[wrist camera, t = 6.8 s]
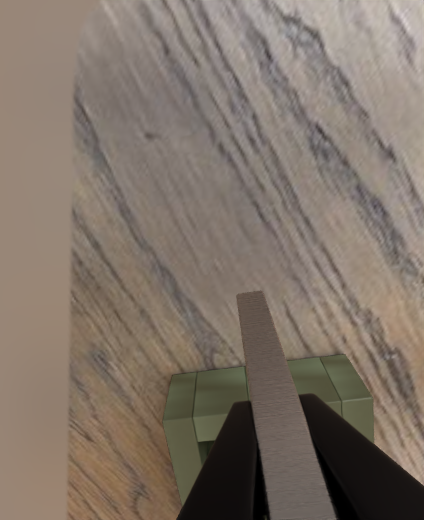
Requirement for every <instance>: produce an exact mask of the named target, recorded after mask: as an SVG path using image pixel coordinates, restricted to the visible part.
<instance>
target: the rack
mask: <svg viewBox="0 0 424 520" xmlns="http://www.w3.org/2000/svg"><path fill="white" fill-rule="evenodd" d="M287 364H288V367H289V370H290V373H291V375H292V378H293V381H294V384H295V387H296V390H297V393H298V394H306V393H313V394H315V395H317V396H318V397H319V398H320V399H321V400H322V401H324V402H325V403H326V404H327V405H328V406H330V407H331V408H332V409H333V410H334V411H336V412H337V413H338V414H339V415H340V416H341V417H343V418H344V419H345V420H346V421H347V422H349V423H350V424H351V425H352V426H353V427H354V428H356V429H357V430H358V431H359V432H360V433H362V434H363V435H364V436H365V437H366V438H368V439H369V440H370V441H371V442H372V443H373V444H374V415H373V397H372V395H371V394H370V392H369V391H368V389H367V387H366V386H365V384H364V383H363V381H362V380H361V378H360V376H359V375H358V373H357V372H356V370H355V369H354V367H353V365H352V364H351V362H350V361H349V359H348V358H347V356H346V355H345V354H342V355H334V356H326V357H320V358H319V357H316V358H307V359H299V360H291V361H287ZM246 400H250V393H249V386H248V378H247V371H246V366H245V368H244V367H235V368H227V369H218V370H210V371H202V372H198V373H196V372H193V373H185V374H177V375H172V378H171V383H170V387H169V392H168V397H167V401H166V406H165V411H164V416H163V420H162V423H163V427H164V431H165V436H166V440H167V444H168V448H169V453H170V457H171V461H172V466H173V470H174V474H175V478H176V483H177V487H178V491H179V496H180V500H181V504H182V507H183V505H184V503H185V501H186V499H187V497H188V495H189V493H190V490H191V488H192V486H193V484H194V482H195V480H196V478H197V476H198V474H199V472H200V470H201V468H202V466H203V464H204V462H205V460H206V458H207V456H208V454H209V452H210V450H211V448H212V446H213V444H214V442H215V439H216V437H217V435H218V433H219V431H220V429H221V427H222V425H223V423H224V421H225V419H226V417H227V415H228V413H229V411H230V409H231V407H232V405H233V403H234V402H238V401H246ZM250 401H251V400H250Z"/></svg>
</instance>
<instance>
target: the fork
mask: <svg viewBox="0 0 424 520" xmlns="http://www.w3.org/2000/svg"><path fill="white" fill-rule="evenodd" d="M236 298H237V305H238V312H239V320H240V327H241V334H242V342H243V349H244V356H245V364H246V371H247V378H248V386H249V393H250V400H251V408H252V415H253V422H254V427H255V432H256V437H257V448H258V459H259V466H260V473H261V481H262V488H263V495H264V503H265V510H266V517H267V520H340V517H339V514H338V511H337V508H336V505H335V502H334V499H333V496H332V493H331V490H330V487H329V484H328V482H327V479H326V476H325V473H324V470H323V467H322V464H321V461H320V458H319V455H318V452H317V449H316V447H315V444H314V442H313V439H312V436H311V433H310V430H309V427H308V424H307V420H306V417H305V414H304V411H303V408H302V405H301V402H300V399H299V396H298V393H297V390H296V387H295V384H294V381H293V378H292V375H291V373H290V370H289V367H288V364H287V361H286V358H285V355H284V352H283V349H282V346H281V343H280V340H279V337H278V334H277V331H276V328H275V325H274V322H273V319H272V317H271V314H270V311H269V308H268V305H267V302H266V299H265V296H264V293H263V291H254V292H247V293H240V294H237V296H236Z"/></svg>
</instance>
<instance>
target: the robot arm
mask: <svg viewBox="0 0 424 520" xmlns="http://www.w3.org/2000/svg"><path fill="white" fill-rule="evenodd" d="M298 396H299V399H300V402H301V405H302V408H303V411H304V414H305V417H306V420H307V424H308V427H309V430H310V433H311V436H312V439H313V442H314V444H315V447H316V449H317V452H318V455H319V458H320V461H321V464H322V467H323V470H324V473H325V476H326V479H327V482H328V484H329V487H330V490H331V493H332V496H333V499H334V502H335V505H336V508H337V511H338V514H339V517H340V520H424V486H423V485H422V484H421V483H420V482H419V481H417V480H416V479H415V478H414V477H413V476H411V475H410V474H409V473H408V472H407V471H405V470H404V469H403V468H402V467H401V466H400V465H398V464H397V463H396V462H395V461H394V460H392V459H391V458H390V457H389V456H388V455H387V454H385V453H384V452H383V451H382V450H381V449H379V448H378V447H377V446H376V445H375V444H373V443H372V442H371V441H370V440H369V439H368V438H366V437H365V436H364V435H363V434H362V433H360V432H359V431H358V430H357V429H356V428H354V427H353V426H352V425H351V424H350V423H349V422H347V421H346V420H345V419H344V418H343V417H341V416H340V415H339V414H338V413H337V412H336V411H334V410H333V409H332V408H331V407H330V406H328V405H327V404H326V403H325V402H324V401H322V400H321V399H320V398H319V397H318V396H317V395H315V394H313V393H306V394H298ZM176 520H267V517H266V510H265V503H264V495H263V488H262V481H261V473H260V466H259V459H258V448H257V437H256V432H255V427H254V422H253V415H252V408H251V401H250V400H246V401H238V402H234V403H233V405H232V407H231V409H230V411H229V413H228V415H227V417H226V419H225V421H224V423H223V425H222V427H221V429H220V431H219V433H218V435H217V437H216V439H215V442H214V444H213V446H212V448H211V450H210V452H209V454H208V456H207V458H206V460H205V462H204V464H203V466H202V468H201V470H200V472H199V474H198V476H197V478H196V480H195V482H194V484H193V486H192V488H191V490H190V493H189V495H188V497H187V499H186V501H185V503H184V505H183V507H182V509H181V511H180V513H179V515H178V517H177V519H176Z"/></svg>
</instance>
